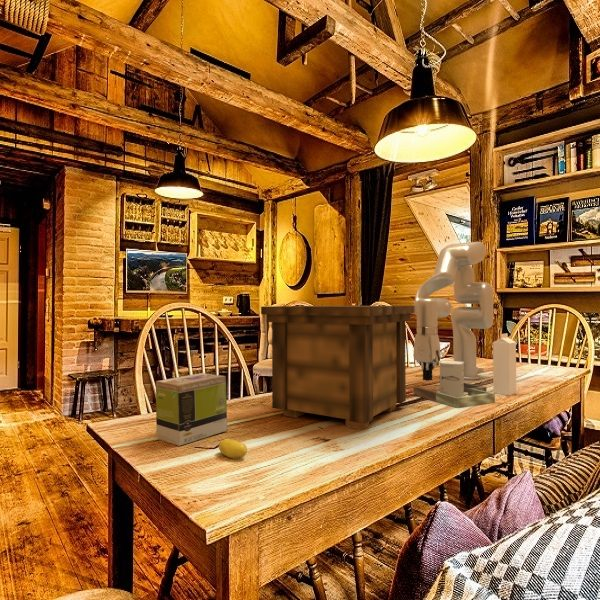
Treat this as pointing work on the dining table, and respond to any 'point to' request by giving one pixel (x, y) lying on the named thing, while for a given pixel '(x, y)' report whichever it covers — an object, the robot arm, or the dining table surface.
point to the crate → (338, 360)
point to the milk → (504, 366)
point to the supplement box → (452, 378)
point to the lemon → (232, 448)
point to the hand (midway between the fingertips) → (427, 380)
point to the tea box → (190, 407)
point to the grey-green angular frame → (475, 397)
